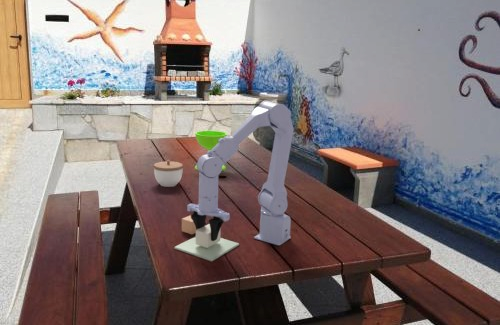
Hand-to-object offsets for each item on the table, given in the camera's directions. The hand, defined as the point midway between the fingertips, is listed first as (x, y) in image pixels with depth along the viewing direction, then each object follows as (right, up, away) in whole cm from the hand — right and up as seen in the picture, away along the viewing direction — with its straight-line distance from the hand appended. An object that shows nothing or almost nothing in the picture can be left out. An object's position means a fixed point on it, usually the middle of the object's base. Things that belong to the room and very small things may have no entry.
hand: (207, 237), depth 137 cm
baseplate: (0, -3, +1) cm, 3 cm away
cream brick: (0, -2, +1) cm, 2 cm away
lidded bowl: (-23, +13, +63) cm, 68 cm away
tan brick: (-6, 0, +14) cm, 15 cm away
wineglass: (-8, +20, +95) cm, 97 cm away
